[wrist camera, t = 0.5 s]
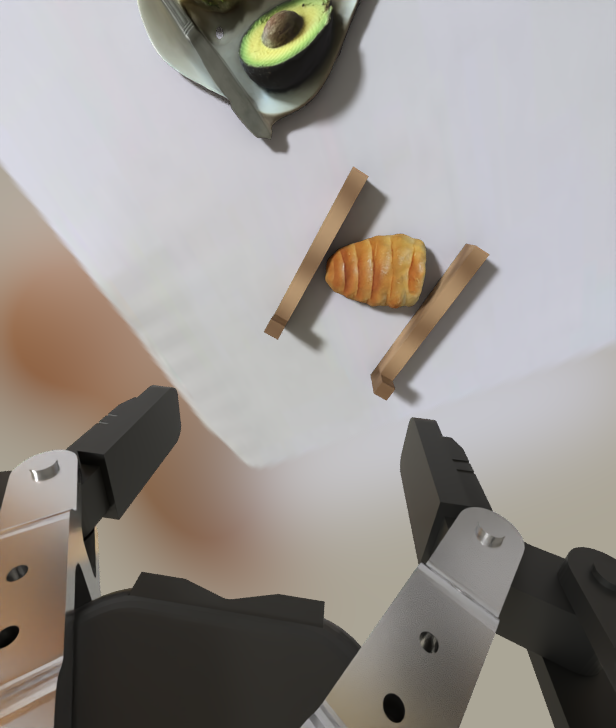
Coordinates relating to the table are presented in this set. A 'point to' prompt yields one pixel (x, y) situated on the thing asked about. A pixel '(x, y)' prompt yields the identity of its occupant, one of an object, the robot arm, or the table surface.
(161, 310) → the table surface
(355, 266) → the pastry
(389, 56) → the table surface
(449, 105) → the table surface
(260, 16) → the salad plate
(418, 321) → the pair of wooden bars
